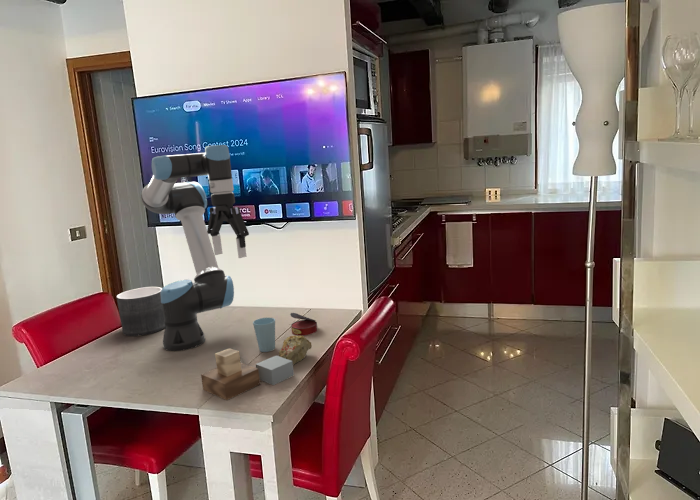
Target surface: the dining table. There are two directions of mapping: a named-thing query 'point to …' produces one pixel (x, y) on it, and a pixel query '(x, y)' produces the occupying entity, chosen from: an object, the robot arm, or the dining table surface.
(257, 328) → the cup
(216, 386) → the walnut pedestal
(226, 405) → the dining table surface
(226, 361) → the oak block
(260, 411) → the dining table surface
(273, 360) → the slate block
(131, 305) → the planter
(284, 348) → the rock
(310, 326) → the canned food
